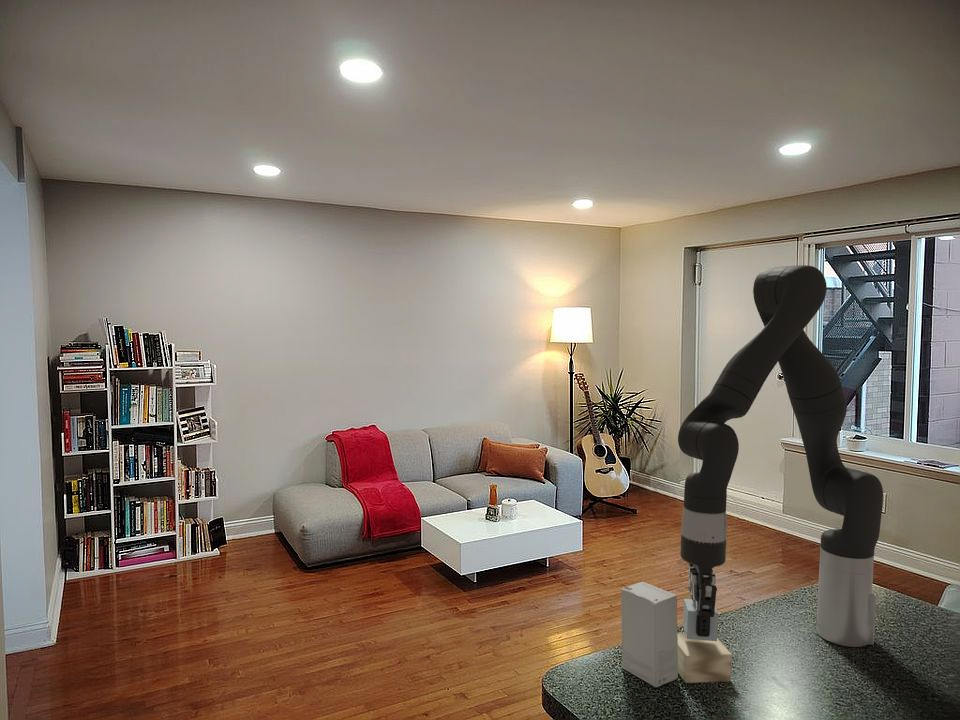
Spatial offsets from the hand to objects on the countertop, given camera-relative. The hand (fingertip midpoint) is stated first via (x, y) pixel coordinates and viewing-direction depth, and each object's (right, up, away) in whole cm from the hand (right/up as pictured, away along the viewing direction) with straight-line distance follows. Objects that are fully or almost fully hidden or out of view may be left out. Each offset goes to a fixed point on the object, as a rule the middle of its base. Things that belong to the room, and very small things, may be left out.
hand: (699, 627), depth 119 cm
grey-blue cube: (0, -1, 0) cm, 1 cm away
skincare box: (-9, -8, -1) cm, 12 cm away
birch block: (0, -8, +1) cm, 8 cm away
